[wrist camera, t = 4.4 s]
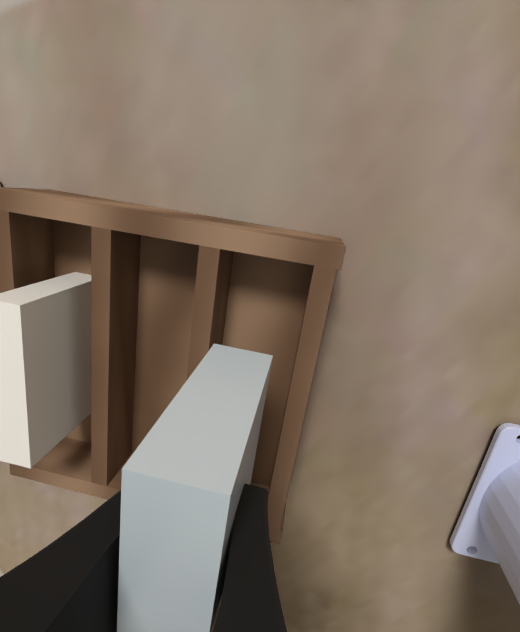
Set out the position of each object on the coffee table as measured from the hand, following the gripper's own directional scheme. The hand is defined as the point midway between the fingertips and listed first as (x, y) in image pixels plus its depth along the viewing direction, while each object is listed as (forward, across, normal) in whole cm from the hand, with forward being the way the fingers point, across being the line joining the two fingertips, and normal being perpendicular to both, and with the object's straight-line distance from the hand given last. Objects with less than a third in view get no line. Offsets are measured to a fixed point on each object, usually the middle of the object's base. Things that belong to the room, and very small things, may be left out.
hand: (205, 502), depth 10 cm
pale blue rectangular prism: (+3, 0, 0) cm, 3 cm away
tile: (+8, +9, 0) cm, 12 cm away
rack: (+9, +4, 0) cm, 10 cm away
